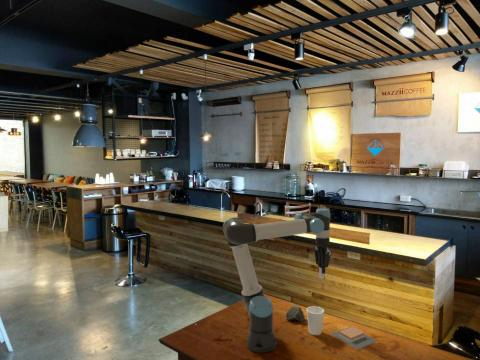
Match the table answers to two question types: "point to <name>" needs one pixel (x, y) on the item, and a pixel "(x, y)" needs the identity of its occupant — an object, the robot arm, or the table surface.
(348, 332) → the tile
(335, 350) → the table surface
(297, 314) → the fossil
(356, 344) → the mat
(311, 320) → the foam cup
